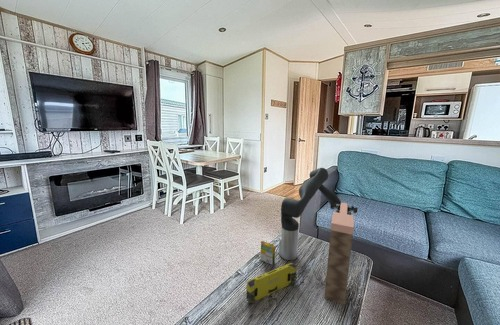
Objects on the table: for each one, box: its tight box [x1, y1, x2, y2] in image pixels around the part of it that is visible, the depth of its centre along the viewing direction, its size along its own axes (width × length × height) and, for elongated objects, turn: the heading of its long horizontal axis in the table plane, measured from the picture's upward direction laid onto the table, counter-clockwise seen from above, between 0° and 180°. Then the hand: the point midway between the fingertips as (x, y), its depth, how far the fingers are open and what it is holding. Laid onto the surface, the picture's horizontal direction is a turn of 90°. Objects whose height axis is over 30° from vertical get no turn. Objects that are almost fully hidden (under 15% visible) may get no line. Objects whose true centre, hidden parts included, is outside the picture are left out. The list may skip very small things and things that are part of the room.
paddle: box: [330, 202, 355, 236], centre depth 93 cm, size 8×26×3 cm, turn 155°
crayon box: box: [259, 240, 276, 266], centre depth 113 cm, size 7×3×12 cm, turn 59°
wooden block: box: [323, 229, 354, 306], centre depth 91 cm, size 8×12×32 cm, turn 155°
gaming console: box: [246, 262, 298, 304], centre depth 92 cm, size 26×4×10 cm, turn 120°
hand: (343, 206), depth 116 cm, fingers open, 8 cm apart
